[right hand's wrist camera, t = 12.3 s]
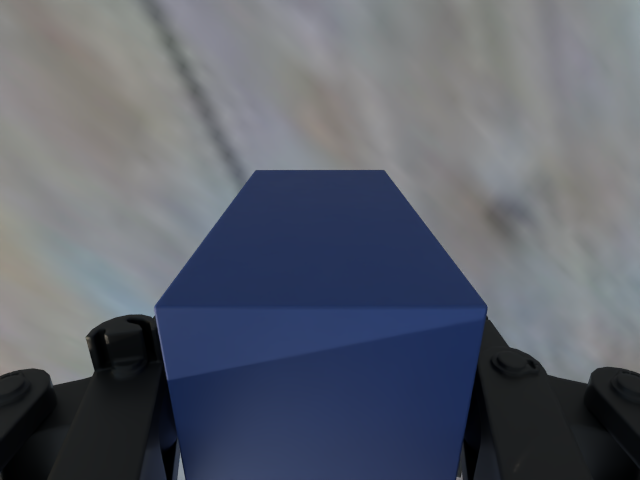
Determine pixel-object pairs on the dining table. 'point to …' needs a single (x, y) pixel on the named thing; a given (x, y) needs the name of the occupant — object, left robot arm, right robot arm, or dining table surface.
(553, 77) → the dining table surface
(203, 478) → the bar
